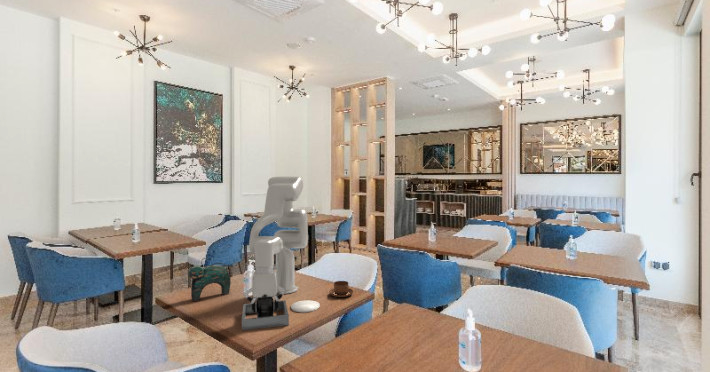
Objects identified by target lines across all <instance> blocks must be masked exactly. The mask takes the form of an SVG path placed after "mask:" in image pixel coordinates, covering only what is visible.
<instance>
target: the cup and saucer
mask: <svg viewBox="0 0 710 372" xmlns="http://www.w3.org/2000/svg"><path fill="white" fill-rule="evenodd" d="M334 292H335V294H337V295H334V294H333V293H334ZM348 292H349V293H350V294H348V295H346V294H347V293H348ZM329 294H330V295H331V296H333V297H335V298H336V297H337V298H346V297H349V296H351V295H353V294H354V289H352V288H349V282H348V281H345V280H337V281H334V282H333V288H332V289H330V290H329Z"/></svg>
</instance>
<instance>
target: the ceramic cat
mask: <svg viewBox="0 0 710 372" xmlns="http://www.w3.org/2000/svg"><path fill="white" fill-rule="evenodd" d="M205 259H206V260H208V261H210V259H209V257H204V258H202V259H201V262H200V263H201V265H200V264H191V265H190V267H189V268H188V270H187V273H188V274H187V275H188V276H189V278H190V279H191V284H190V285H191V288H190V289H191V290H190V291H191V292H190V293H191V295H190V296H191V301H192V300H193V302H197V301H196V300H199V301H200V300H201V295H202V292H203V290H204V289H205V287H206V286H209V285H210V284H217V285H219V286H220V289H221V295H223V296H225V294H226V295H229V294H230V292H231V291H230V288H231V275H230V273H229V271H228V267H227V265H226V264H225V263H223V262H215V263H213V264H210V265H207V266H204V264H203V260H205ZM224 266H225V267H224Z"/></svg>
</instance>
